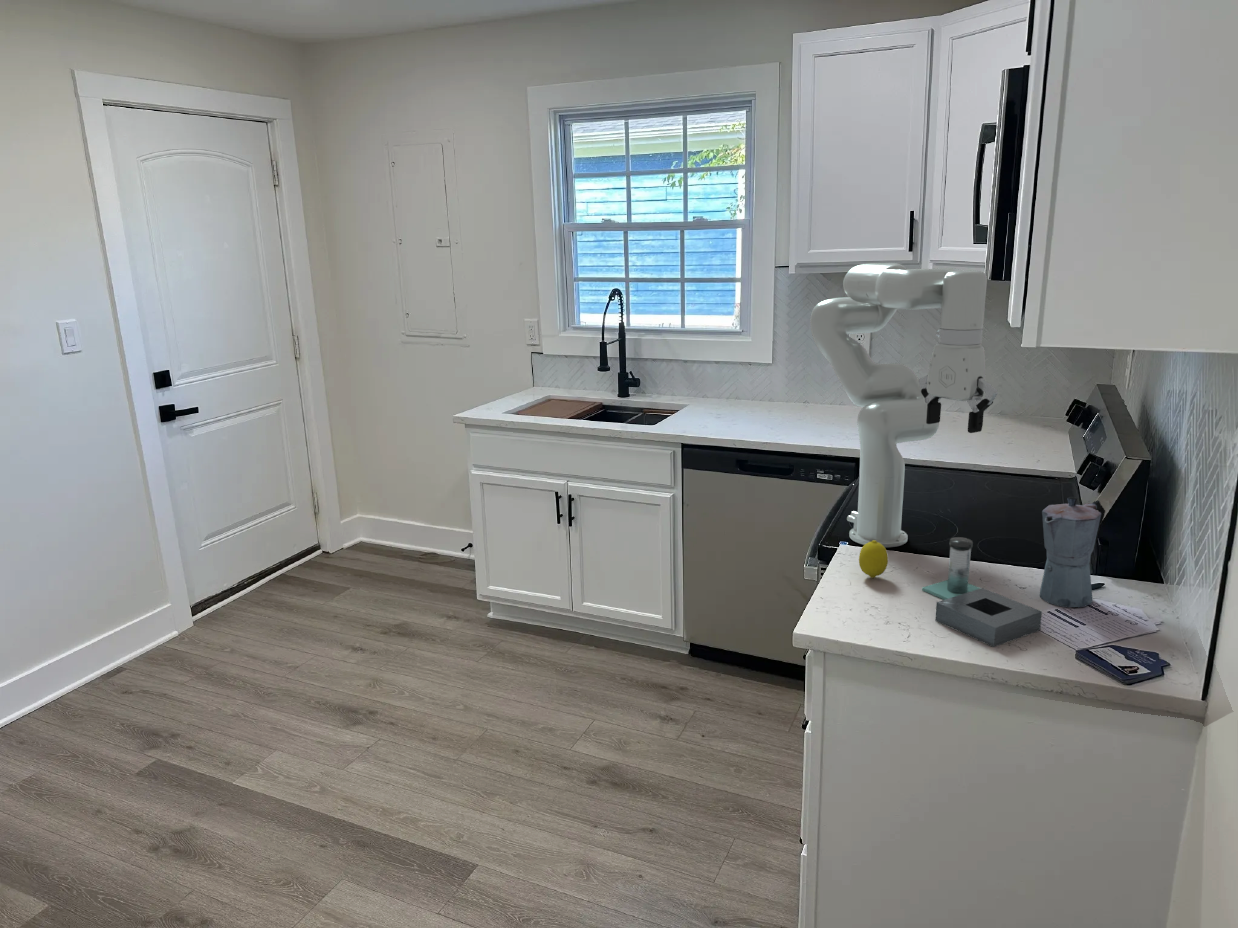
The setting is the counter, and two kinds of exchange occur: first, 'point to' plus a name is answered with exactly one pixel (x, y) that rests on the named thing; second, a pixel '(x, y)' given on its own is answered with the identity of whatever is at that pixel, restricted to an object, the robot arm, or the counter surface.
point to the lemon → (873, 559)
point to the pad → (944, 590)
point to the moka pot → (1069, 552)
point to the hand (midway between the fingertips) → (953, 427)
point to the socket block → (988, 616)
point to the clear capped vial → (959, 565)
